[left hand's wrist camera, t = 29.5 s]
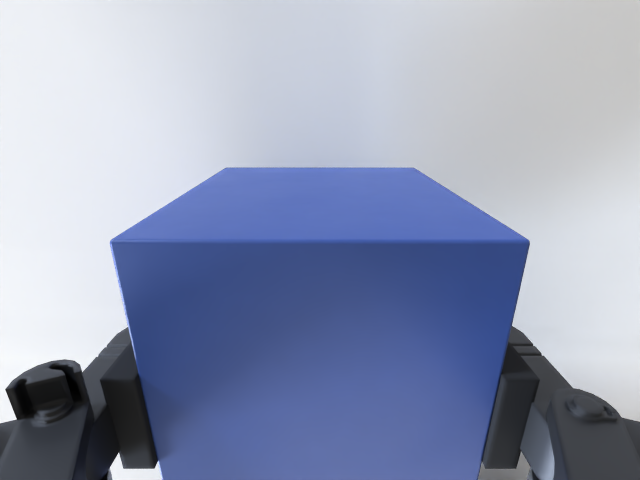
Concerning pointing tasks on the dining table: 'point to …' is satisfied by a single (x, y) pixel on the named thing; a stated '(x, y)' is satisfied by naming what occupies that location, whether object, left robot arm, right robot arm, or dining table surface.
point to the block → (319, 325)
